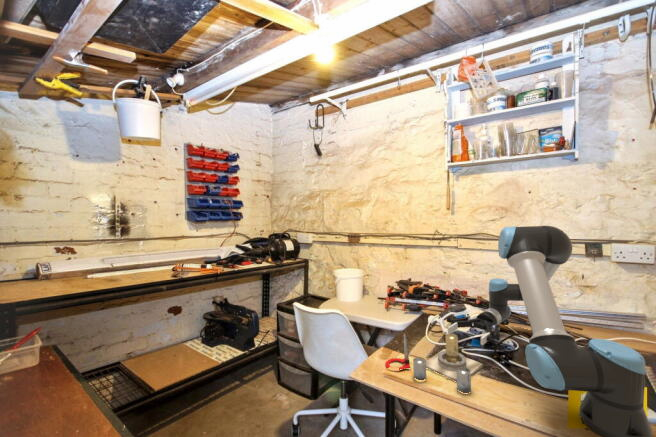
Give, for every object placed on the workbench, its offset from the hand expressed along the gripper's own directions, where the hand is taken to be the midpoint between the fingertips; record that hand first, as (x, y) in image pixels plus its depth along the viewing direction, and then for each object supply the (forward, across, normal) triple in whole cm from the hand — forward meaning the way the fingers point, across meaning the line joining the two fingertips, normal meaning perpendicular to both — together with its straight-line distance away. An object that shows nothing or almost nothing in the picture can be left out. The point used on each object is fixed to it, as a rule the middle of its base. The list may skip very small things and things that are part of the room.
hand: (464, 335), depth 128 cm
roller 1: (+25, +4, -9) cm, 27 cm away
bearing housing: (+10, 0, -9) cm, 13 cm away
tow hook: (+24, +15, -9) cm, 30 cm away
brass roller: (+10, 0, -8) cm, 12 cm away
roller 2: (+20, -10, -9) cm, 24 cm away
